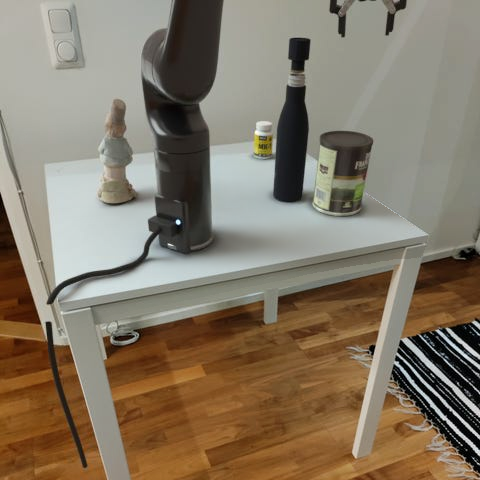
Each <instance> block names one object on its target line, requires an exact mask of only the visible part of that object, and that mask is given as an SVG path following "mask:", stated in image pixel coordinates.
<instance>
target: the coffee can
mask: <svg viewBox="0 0 480 480" xmlns="http://www.w3.org/2000/svg"><path fill="white" fill-rule="evenodd" d="M373 144H374V139H373V137H371V136H370V135H367V134H365V133H363V132H357V131H353V130H352V131H351V130H331V131H330V130H329V131H327V132H324V133H321V134H319V146H318V154H317V164H316V172H315V181H314V190H313V192H314V193H313V200H312V204H311V205H312V207H313V209H315V210H317V212H319V213H322V214H325V215H328V216H335V217H349V216H353V215H356V214H357V213H359V212H360V211H361V209H362V202H363V196H364V191H365V185H366V179H367V174H368V170H369V164H370V159H371V153H372V147H373Z"/></svg>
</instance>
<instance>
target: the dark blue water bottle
mask: <svg viewBox="0 0 480 480" xmlns="http://www.w3.org/2000/svg"><path fill="white" fill-rule="evenodd" d="M310 52H311V39H310V38H308V37H291V38H289V40H288V55H287V59H288V60H291V63H290V72H291V73H289V74H288V78H287V79H288V80H287V85H286V87H285V101H284V104H283V106H282V109H281V111H280V114H279V118H278V122H277V127H276V137H275V138H276V140H275V156H274V157H275V158H274V175H273V189H272V190H273V191H272V192H273V193H272V196H273V198H274V199H275V200H276V201H279V202H282V203H283V202H285V203H295V202H298V201H301V200H302V198H303V193H304V183H305V172H306V164H307V163H306V161H307V153H308V152H307V151H308V142H309V132H310V122H309V113H308V110H307V104H306V92H307V85H306V79H307V78H306V74H304V73H305V72H306V71H305V68H306V67H305V66H306V65H305V64H306V61H309V59H310Z"/></svg>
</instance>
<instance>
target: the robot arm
mask: <svg viewBox="0 0 480 480" xmlns="http://www.w3.org/2000/svg"><path fill="white" fill-rule="evenodd" d="M355 1H356V0H344V1H343V2H342V4H341V5H340V4H338V0H329V9H328V11H329V13H330V14H334V15H336V16H337V18H338V23H337V34H338V35H340V38H345V37H346V29H347V28H346V27H347V12H348V11H349V9H350V8H351V7H352V5H354V3H355ZM357 1H359V3H361V2H366V1H367V0H357ZM369 1H371V2H376V1H377V0H369ZM224 2H225V0H171V2H170V9H169V15H168V22H167V26H166V27H165V28H163V27H162V28H159V29H157V30H154V31H153V32H152V33H150V35H149V36H148V37H147V38H146V40H145V41H144V43H143V45H142V48H141V51H140V57H139V69H140V70H139V71H140V81H141V88H142V97H143V104H144V105H143V106H144V111H145V118H146V123H147V127H148V129H149V131H150V134H151V139H152V148H153V158H154V168H155V179H156V191H157V194H155V195H154V206H155V215H153V216H151V217H149V218H148V219H147V226H148V231H149V232H150V233H151V234H150V235H149V237H148V238H147V239H146V241H145V243H144V246H143V250H142V253H141V255H140V256H139V257H138V258H137V259H135V260H134V261H132V262H129V263H126V264H123V265H119V266H116V267H113V268H108V269H99V270H93V271H88V272H83V273H81V274H79V275H75V276H72V277H70V278H67V279H65V280H63V281H61V282H60V283H58V285H56V287H54V289H52V291H51V292H50V294H49V296H48V298H47V301H46V303H45V304H46V305H48V306H50V305H52V304H54V302H55V300H56V298H57V297H58V295H59V294H60V293H61V291H63V290H64V289H65V288H67V287H68V286H71V285H73V284H77V283H79V282H81V281H84V280H87V279H91V278H96V277H105V276H112V275H115V274H119V273H122V272H126V271H128V270H132V269H134V268H136V267H138V265H140V264H141V263H143V262H144V261H145V260H146V259H147V258H148V256H149V252H150V247H151V245H152V243H153V242H154V240H156V238H157V237H158V245H159V246H161V247H164V248H167V249H170V250H173V251H177V252H179V253H182V254H188V253H190V252H193V251H199V250H203V249H205V248H207V247H209V246H210V245H211V244H212V243H213V241H214V235H213V233H214V232H213V217H212V216H213V215H212V214H213V211H212V176H211V175H212V174H211V171H212V170H211V169H212V168H211V134H210V133H211V132H210V128H209V125H208V124H207V122H206V120H205V118H204V115H203V113H202V109H201V105H200V103H202V101H204V100H205V99H206V98H207V96H208V95H209V94H210V93H211V90H212V88H213V87H214V84H215V80H216V77H217V73H218V72H217V71H218V64H219V52H220V43H221V31H222V21H223V12H224V11H223V10H224ZM381 2H382V3H383V5H384V6H385V8H386V9H387V13H386V20H385V21H386V22H385V30H384V31H385V33H384V36H387V37H388V36H390V33H392V32H393V31H394V27H395V16H396V13H397V12H400V11H403V10H405V9H406V8H407V2H408V0H398V1H396V2H395V1H394V0H381ZM44 323H45V333H46V343H47V344H46V345H47V351H48V358H49V363H50V368H51V372H52V376H53V380H54V384H55V387H56V392H57V394H58V397H59V398H58V399H59V400H60V403H61V406H62V409H63V412H64V416H65V418H66V421H67V424H68V426H69V429H70V432H71V435H72V438H73V440H74V443H75V446H76V449H77V451H78V455H79V458H80V463H81V465H82V468H83V469H87V468H88V462H87V459H86V455H85V451H84V448H83V445H82V442H81V439H80V436H79V433H78V430H77V427H76V424H75V421H74V418H73V416H72V413H71V410H70V407H69V404H68V401H67V398H66V395H65V391H64V388H63V384H62V380H61V376H60V372H59V367H58V363H57V358H56V349H55V343H54V332H53V322H52V321H49V320H48V321H45V322H44Z"/></svg>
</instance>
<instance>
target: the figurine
mask: <svg viewBox="0 0 480 480" xmlns="http://www.w3.org/2000/svg"><path fill="white" fill-rule="evenodd" d="M126 111H127V105H126V103H125V101H124V100H122V99H120V98H114V99H113V100H112V102H111V104H110V107H109V112H108V114H107V115H106V118H105V121H104V124H103V125H104V130H105V131H104V132H105V133H106V135H105V136H104V137H103V139H102V141H101V143H100V145H99V146H98V148H97V149H98V153H99V160H100V161H101V164H102V165H103V166H104V167H103V168H104V172H103V173H102V176H101V178H100V182H101V186H100V188H98V191H97V196H98V199H99V200H100V201H102V202H104V203H106V204H121V203H124V202H128V201H131V200H132V199H134V197H137V196H138V193H137V191H136V189H135V188H133V184H132V183H130V181H129V180H128V178H127V174H126V173H127V172H126V171H127V170H126V167H128V166H129V165H131V163H133V159H134V157H133V155H134V150H133V148H132V146H131V145H130V143H129V142H128V139H127V137H124V135H125V133H126V131H127V124H126V120H125V117H126Z"/></svg>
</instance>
